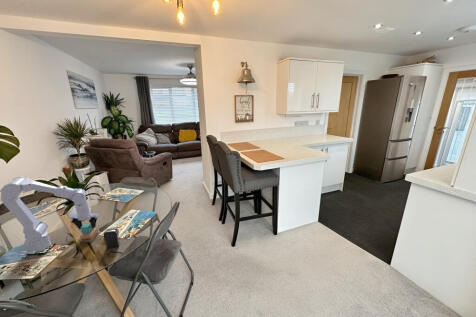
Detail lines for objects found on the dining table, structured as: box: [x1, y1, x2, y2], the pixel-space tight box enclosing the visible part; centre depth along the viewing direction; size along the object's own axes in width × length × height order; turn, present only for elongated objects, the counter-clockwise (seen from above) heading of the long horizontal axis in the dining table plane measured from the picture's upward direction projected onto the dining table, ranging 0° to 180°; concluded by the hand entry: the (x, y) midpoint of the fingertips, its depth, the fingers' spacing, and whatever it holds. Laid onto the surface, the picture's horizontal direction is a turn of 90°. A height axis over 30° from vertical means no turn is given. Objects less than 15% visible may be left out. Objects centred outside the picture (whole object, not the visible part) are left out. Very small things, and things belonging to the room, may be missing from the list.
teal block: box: [80, 222, 94, 234], centre depth 113 cm, size 4×4×5 cm
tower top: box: [79, 227, 98, 239], centre depth 114 cm, size 6×6×2 cm
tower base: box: [78, 230, 99, 243], centre depth 115 cm, size 7×7×2 cm
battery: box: [102, 228, 121, 249], centre depth 109 cm, size 7×4×11 cm, turn 104°
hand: (87, 227), depth 113 cm, fingers open, 7 cm apart
